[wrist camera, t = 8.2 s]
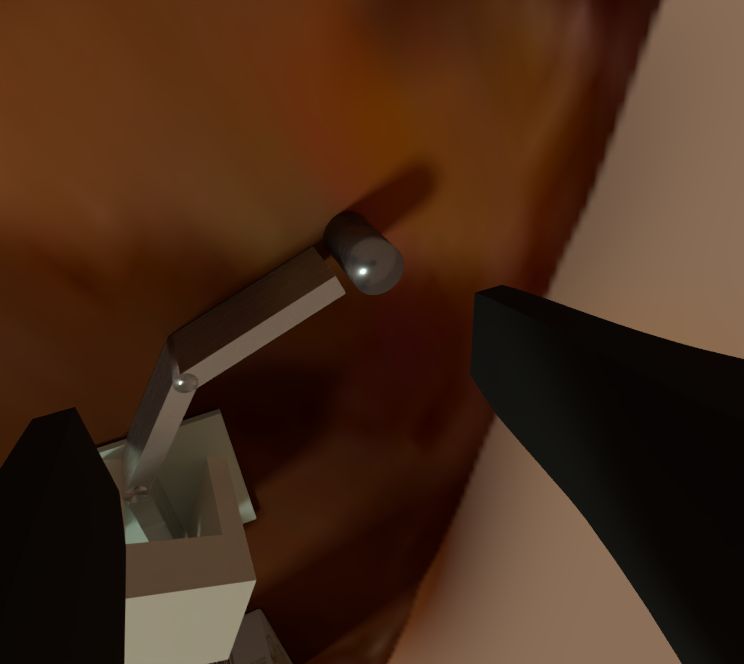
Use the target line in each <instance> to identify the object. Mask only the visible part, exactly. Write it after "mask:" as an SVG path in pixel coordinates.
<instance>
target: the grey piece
mask: <svg viewBox="0 0 744 664" xmlns="http://www.w3.org/2000/svg"><path fill="white" fill-rule="evenodd" d="M324 244H325V247H326V249H327V250H328V251H329V253H330V254H331V255H332V256H333V258H334V259H335V260H336V261H337V263H338V264H339V265H340V266H341V268H342V269H343V270H344V272H345V273H346V274H347V275H348V277H349V278H350V279H351V280H352V282H353V283H354V284H355V285H356V287H357V288H358V289H359V290H360V291H362V292H363V293H365V294H369V295H378V294H382V293H384V292H386V291H388V290H390V289H391V288H392V287H393V286H395V285H396V283H397V282H398V281H399V279H400V277H401V275H402V273H403V268H404V261H403V257H402V255H401V253H400V252H399V251H398V250H397V249H396V248H395V247H394V246H393V245H392V244H391V243H390V242H389V241H388V240H387V239H386V238H385V237H384V236H383V235H382V234H381V233H380V232H379V231H377V230H376V229H375V228H374V227H373V226H372V225H371V224H370V223H369V222H368V221H367V220H366V219H365V218H364V217H363V216H362V215H360V214H358V213H355V212H345V213H341V214H339V215H337V216H336V217H334V218H333V219H332V220H331V221H330V222H329V223H328V225H327V227H326V229H325V232H324ZM344 294H345V291H344V290H343V288H342V286H341V284H340V283H339V281H338V279H337V278H336V276H335V275H334V273H333V272H332V271H331V269H330V268H329V267H328V265H327V264H326V263H325V261H324V260H323V259H322V257H321V256H320V255H319V253H318V252H317V251H316V249H315V248H314V247H313V246H312V247H310V248H308V249H307V250H305V251H304V252H302V253H300V254H299V255H297V256H296V257H294V258H293V259H291V260H289V261H288V262H286V263H285V264H283V265H281V266H280V267H278V268H277V269H275V270H274V271H272V272H270V273H269V274H267V275H266V276H264V277H262V278H261V279H259V280H258V281H256V282H255V283H253V284H251V285H250V286H248V287H247V288H245V289H243V290H242V291H240V292H239V293H237V294H236V295H234V296H232V297H231V298H229V299H228V300H226V301H224V302H223V303H221V304H220V305H218V306H217V307H215V308H213V309H212V310H210V311H209V312H207V313H205V314H204V315H202V316H201V317H199V318H198V319H196V320H194V321H193V322H191V323H190V324H188V325H186V326H185V327H183V328H182V329H180V330H179V331H177V332H175V333H174V334H172V335H170V336H169V337H168V338H167V340H166V343H165V345H164V348H163V350H162V353H161V355H160V357H159V360H158V362H157V365H156V367H155V369H154V372H153V374H152V377H151V379H150V382H149V384H148V386H147V389H146V391H145V394H144V396H143V398H142V401H141V403H140V406H139V408H138V410H137V413H136V415H135V418H134V420H133V422H132V425H131V427H130V430H129V432H128V435H127V437H126V445H125V448H124V450H123V479H124V498H125V500H126V502H127V503H128V505H129V507H130V509H131V511H132V512H133V514H134V516H135V518H136V520H137V521H138V523H139V525H140V527H141V529H142V530H143V532H144V534H145V536H146V538H147V539H148V541H149V542H153V541H163V540H173V539H184V538H188V537H187V535H186V533H185V531H184V529H183V527H182V525H181V523H180V521H179V519H178V517H177V515H176V513H175V510H174V508H173V506H172V504H171V502H170V500H169V498H168V496H167V494H166V492H165V490H164V488H163V485H162V483H161V481H160V479H159V477H158V475H157V474H158V472H159V470H160V468H161V466H162V463H163V461H164V459H165V457H166V455H167V452H168V450H169V448H170V446H171V444H172V441H173V439H174V437H175V435H176V433H177V430H178V428H179V426H180V424H181V422H182V419H183V417H184V415H185V413H186V411H187V408H188V406H189V404H190V402H191V400H192V397H193V395H194V393H195V391H196V389H197V388H198V387H200V386H201V385H203V384H204V383H206V382H208V381H209V380H211V379H212V378H214V377H215V376H217V375H219V374H220V373H222V372H223V371H225V370H226V369H228V368H230V367H231V366H233V365H234V364H236V363H237V362H239V361H240V360H242V359H244V358H245V357H247V356H248V355H250V354H251V353H253V352H255V351H256V350H258V349H259V348H261V347H262V346H264V345H265V344H267V343H269V342H270V341H272V340H273V339H275V338H276V337H278V336H280V335H281V334H283V333H284V332H286V331H287V330H289V329H291V328H292V327H294V326H295V325H297V324H298V323H300V322H301V321H303V320H305V319H306V318H308V317H309V316H311V315H312V314H314V313H316V312H317V311H319V310H320V309H322V308H323V307H325V306H327V305H328V304H330V303H331V302H333V301H334V300H336V299H337V298H339V297H341V296H342V295H344Z"/></svg>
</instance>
